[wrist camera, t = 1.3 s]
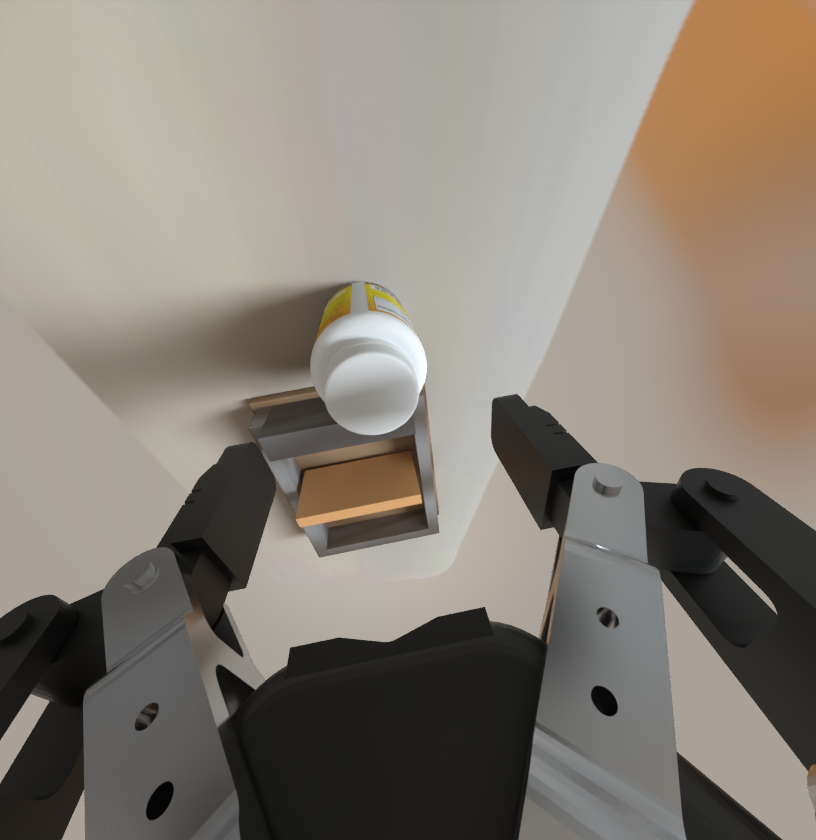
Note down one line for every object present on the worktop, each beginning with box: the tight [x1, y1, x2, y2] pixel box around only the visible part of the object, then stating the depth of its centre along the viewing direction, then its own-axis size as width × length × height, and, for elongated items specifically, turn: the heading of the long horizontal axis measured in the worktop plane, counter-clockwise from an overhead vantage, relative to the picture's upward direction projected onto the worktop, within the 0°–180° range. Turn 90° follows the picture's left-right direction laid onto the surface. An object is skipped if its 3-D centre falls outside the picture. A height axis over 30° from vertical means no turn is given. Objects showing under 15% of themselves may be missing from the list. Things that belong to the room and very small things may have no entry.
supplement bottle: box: [310, 282, 427, 435], centre depth 17 cm, size 6×6×10 cm
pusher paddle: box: [295, 450, 422, 528], centre depth 24 cm, size 1×9×5 cm, turn 97°
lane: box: [249, 382, 439, 558], centre depth 26 cm, size 17×13×5 cm
